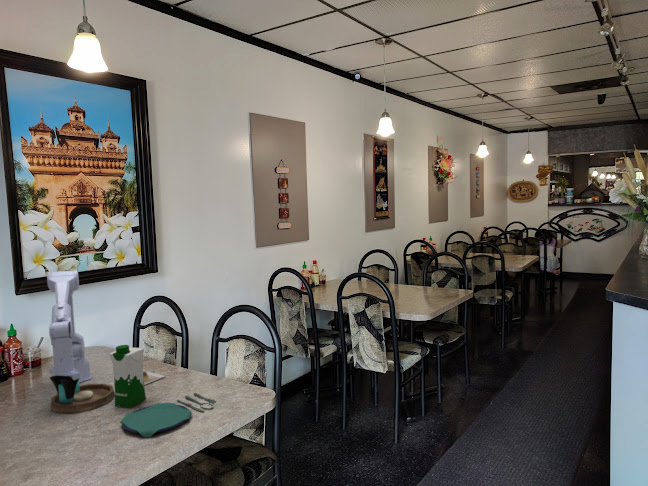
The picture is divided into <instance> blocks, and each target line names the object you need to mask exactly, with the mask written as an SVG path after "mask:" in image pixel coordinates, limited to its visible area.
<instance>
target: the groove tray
mask: <svg viewBox="0 0 648 486" xmlns="http://www.w3.org/2000/svg"><path fill="white" fill-rule="evenodd" d="M79 388H80V392H78V393H76V394H74V397H73V402H71V403H68V404H60V400H59V395H58V393H56V394H55V395H53V396H52V397H51V400H50V411H52V412H54V413H56V414H64V415H65V414H66V415H67V414H69V415H70V414H77V413H84V412H88V411H92V410H96V409H98V408H101V407H103V406H105V405H108V404H109V403H111V401H113V399H114V400H115V389H114V386H113V385H111V384H106V383H88V384H83V385H82V384H81V385H79Z"/></svg>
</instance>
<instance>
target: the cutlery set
mask: <svg viewBox="0 0 648 486" xmlns="http://www.w3.org/2000/svg"><path fill="white" fill-rule="evenodd" d="M193 396H194V397H197V398H198V399H201V400H203V399H204V401H206V402H203V403H201V402H200V401H198V400H197V399H195V398H193V397H191V396H189V395H185V397H184V398H185V399H187V400H190V401H192V402H194V403H196V404H198V405H199V406H200V407H201V405H202V407H201V408H202V409H201V408H198V407H196V406H193V405H192V403H190V402H188V403H187V402H185V401H182V400H180V399H177V400H176V402H177V403H178V402H179V403H181V404H183V405H181V404H177V403H175V402H162V403H155V404H152V405H149V406H148V405H147V406H145V407H141V408H139V409H136V410H134V411H132V412H129V413H127V414H125V415H124V417H123V418H121V420H120V421H119V423H120V424H121V427H122V428H123V429H124V430H125V431H128V432H131V433H134V434H135V433H136V434H140V435H141V436H142V437H143V438H151V437H152V436H153V435H154V434H155V433H159V432H165V431H167V430H168V431H169V430H171V429H174V428H177V427H178V426H180V425H182V424H184V423H185V422H186V421H190V419H191V417H192V415H193V414H192V413H193V412H192V410H194V411H195V412H196V411H197V412H199V413H205V410H210V409H211V410H212V407H211V406H213V407H214V405H213V404H214V403H216V402H217V400H215V399H212V398H207V397H205V396H202V395H200V393H196V392H194V393H193ZM210 403H212V404H210ZM203 404H209V405H208V406H210V405H211V406H210V407H211V408H208V407H203V406H204V405H203ZM184 405H185V406H184ZM189 408H191V409H192V410H190V409H189ZM203 408H204V409H203Z"/></svg>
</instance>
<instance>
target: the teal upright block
mask: <svg viewBox="0 0 648 486" xmlns="http://www.w3.org/2000/svg"><path fill="white" fill-rule="evenodd" d="M79 386H80V383H79V381H78V383H77V385H76V388H75V393H74V394H76V393H78V392H80V388H79Z"/></svg>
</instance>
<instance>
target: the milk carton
mask: <svg viewBox="0 0 648 486" xmlns="http://www.w3.org/2000/svg"><path fill="white" fill-rule="evenodd" d="M144 351H145V348H143V347H142V348H141V347H130V345H129V344H122V345H121V344H120V345H117V346H116V347H115V351H113V352H111V353H109V356H110V360H111V363H112V367H113V381H114V382H113V383H114V386H113V387H114V394H115V397H114V406H115V407H123V408H129V409H132V408H133V407H136V406H137V405H139V404H141V403H142V402H145V401H146V400H147V395H146V390H145V385H144V384H145V382H144V380H143V369H144V367H143V358H144V353H145V352H144Z"/></svg>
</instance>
